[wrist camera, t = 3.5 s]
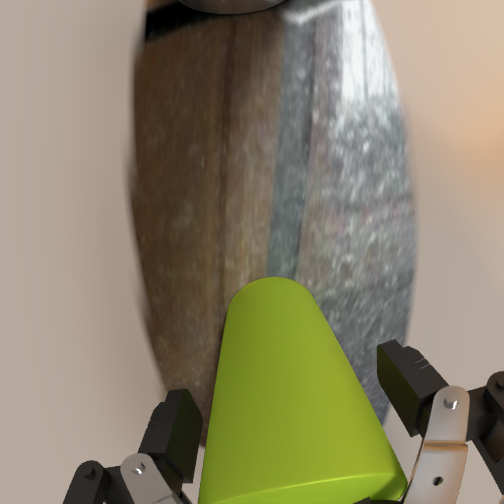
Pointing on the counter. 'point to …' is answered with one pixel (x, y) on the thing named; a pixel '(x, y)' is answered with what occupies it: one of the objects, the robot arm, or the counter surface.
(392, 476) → the soap dispenser
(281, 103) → the counter surface
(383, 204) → the counter surface
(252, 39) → the counter surface
